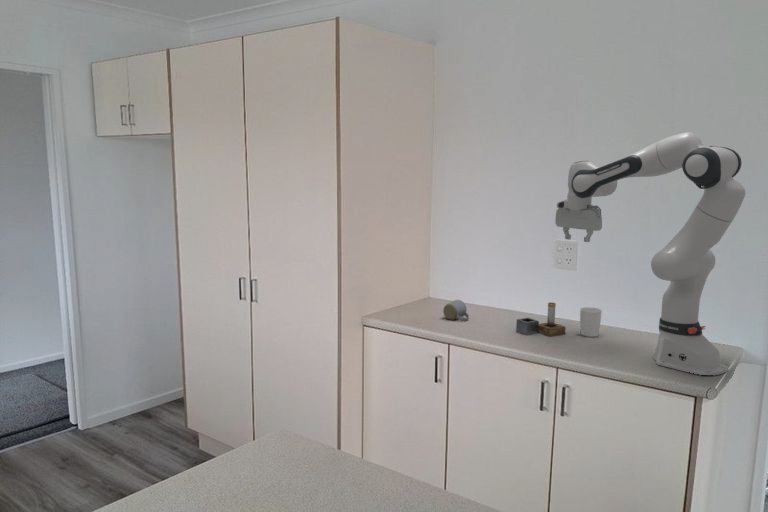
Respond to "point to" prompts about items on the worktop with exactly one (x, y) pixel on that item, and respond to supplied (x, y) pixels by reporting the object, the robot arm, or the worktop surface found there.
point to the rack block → (551, 330)
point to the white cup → (590, 321)
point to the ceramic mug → (456, 310)
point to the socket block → (527, 326)
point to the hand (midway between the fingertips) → (577, 240)
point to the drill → (551, 315)
